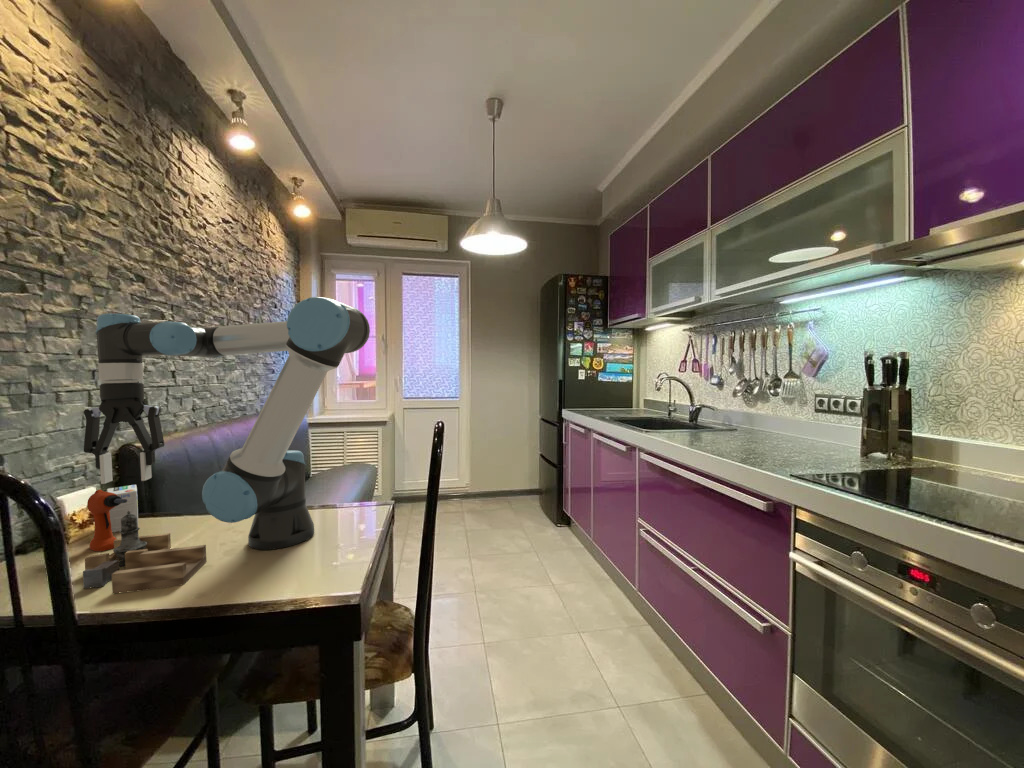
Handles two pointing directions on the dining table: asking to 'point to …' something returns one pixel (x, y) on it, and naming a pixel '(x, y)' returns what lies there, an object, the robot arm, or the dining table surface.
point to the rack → (161, 569)
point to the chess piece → (128, 537)
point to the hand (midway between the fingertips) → (127, 480)
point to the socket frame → (131, 556)
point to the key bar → (100, 574)
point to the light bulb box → (123, 505)
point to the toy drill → (103, 518)
